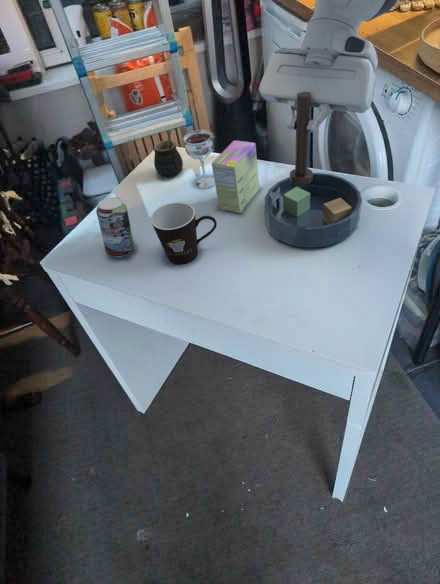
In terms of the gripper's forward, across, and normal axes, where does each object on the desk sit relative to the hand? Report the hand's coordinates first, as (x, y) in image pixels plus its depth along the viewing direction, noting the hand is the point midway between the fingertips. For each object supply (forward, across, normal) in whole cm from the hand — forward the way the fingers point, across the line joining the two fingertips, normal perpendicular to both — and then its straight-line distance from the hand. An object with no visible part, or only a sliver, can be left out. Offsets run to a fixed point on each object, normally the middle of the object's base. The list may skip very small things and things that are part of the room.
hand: (301, 130), depth 77 cm
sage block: (+12, -3, +16) cm, 20 cm away
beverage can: (+31, -31, -2) cm, 44 cm away
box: (+13, -17, +17) cm, 27 cm away
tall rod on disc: (+7, 0, +7) cm, 10 cm away
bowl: (+13, +1, +16) cm, 21 cm away
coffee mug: (+28, -16, +2) cm, 32 cm away
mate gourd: (+11, -40, +19) cm, 45 cm away
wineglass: (+11, -29, +19) cm, 36 cm away
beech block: (+12, +6, +16) cm, 21 cm away
